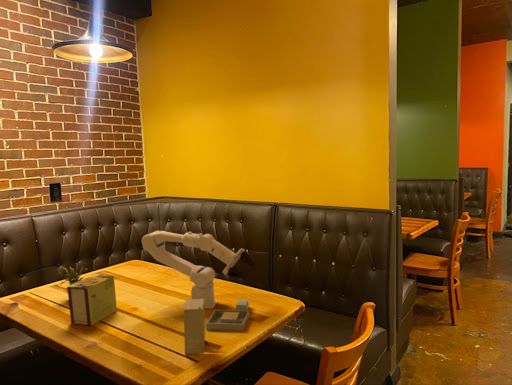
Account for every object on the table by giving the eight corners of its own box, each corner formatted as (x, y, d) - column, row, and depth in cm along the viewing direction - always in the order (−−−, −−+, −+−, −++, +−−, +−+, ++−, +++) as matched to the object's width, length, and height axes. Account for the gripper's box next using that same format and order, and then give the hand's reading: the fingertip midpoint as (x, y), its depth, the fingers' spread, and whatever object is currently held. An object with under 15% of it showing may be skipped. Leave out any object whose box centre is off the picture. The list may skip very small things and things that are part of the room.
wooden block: (220, 327, 139) (220, 318, 139) (224, 320, 145) (224, 311, 145) (236, 328, 138) (236, 319, 138) (240, 320, 144) (239, 312, 144)
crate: (206, 331, 138) (206, 323, 138) (215, 316, 150) (214, 309, 150) (243, 332, 136) (243, 324, 136) (249, 317, 148) (249, 310, 147)
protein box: (117, 310, 161) (114, 275, 160) (91, 326, 147) (87, 288, 145) (97, 308, 165) (94, 273, 163) (70, 323, 150) (66, 286, 148)
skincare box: (186, 342, 130) (183, 298, 129) (207, 340, 131) (204, 297, 129) (184, 355, 122) (180, 308, 120) (206, 353, 123) (203, 307, 121)
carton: (236, 314, 152) (235, 305, 151) (239, 308, 158) (238, 299, 157) (246, 314, 151) (245, 305, 151) (248, 308, 157) (248, 299, 157)
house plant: (49, 303, 172) (45, 269, 171) (73, 292, 185) (70, 260, 183) (72, 307, 167) (68, 271, 165) (95, 295, 180) (92, 262, 178)
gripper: (215, 259, 149) (244, 279, 147) (234, 237, 159) (261, 255, 157) (212, 269, 154) (239, 288, 152) (230, 247, 164) (256, 264, 162)
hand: (250, 272), depth 155 cm, fingers open, 7 cm apart
